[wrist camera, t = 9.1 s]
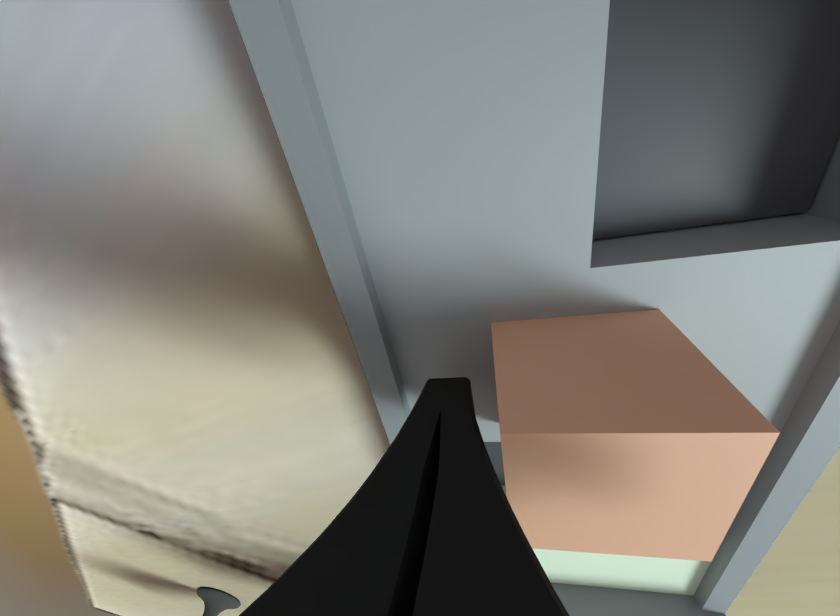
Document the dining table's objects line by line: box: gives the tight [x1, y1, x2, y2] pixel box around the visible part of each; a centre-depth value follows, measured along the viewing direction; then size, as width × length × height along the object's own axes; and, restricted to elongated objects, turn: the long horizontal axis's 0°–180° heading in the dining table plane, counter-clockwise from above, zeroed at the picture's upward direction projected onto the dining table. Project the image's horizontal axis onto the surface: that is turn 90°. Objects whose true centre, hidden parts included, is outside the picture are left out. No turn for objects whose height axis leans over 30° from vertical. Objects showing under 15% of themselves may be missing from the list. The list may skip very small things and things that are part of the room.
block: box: [491, 309, 780, 562], centre depth 8 cm, size 4×4×4 cm
